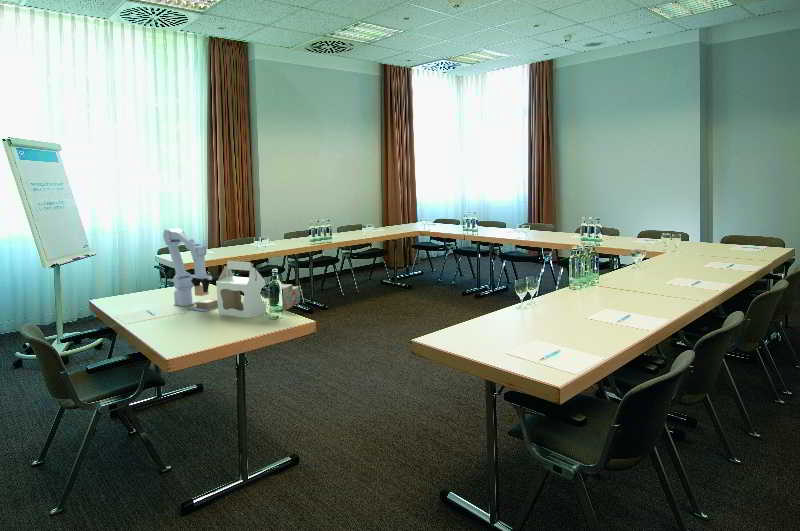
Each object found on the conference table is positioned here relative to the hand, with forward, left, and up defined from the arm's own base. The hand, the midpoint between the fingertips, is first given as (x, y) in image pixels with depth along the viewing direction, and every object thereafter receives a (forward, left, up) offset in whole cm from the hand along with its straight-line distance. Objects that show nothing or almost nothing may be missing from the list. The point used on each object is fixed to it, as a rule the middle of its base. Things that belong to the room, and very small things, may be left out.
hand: (201, 291), depth 297 cm
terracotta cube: (0, 0, -2) cm, 2 cm away
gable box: (+29, -2, -10) cm, 31 cm away
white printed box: (+42, +20, -10) cm, 48 cm away
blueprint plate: (+1, +2, -9) cm, 10 cm away
